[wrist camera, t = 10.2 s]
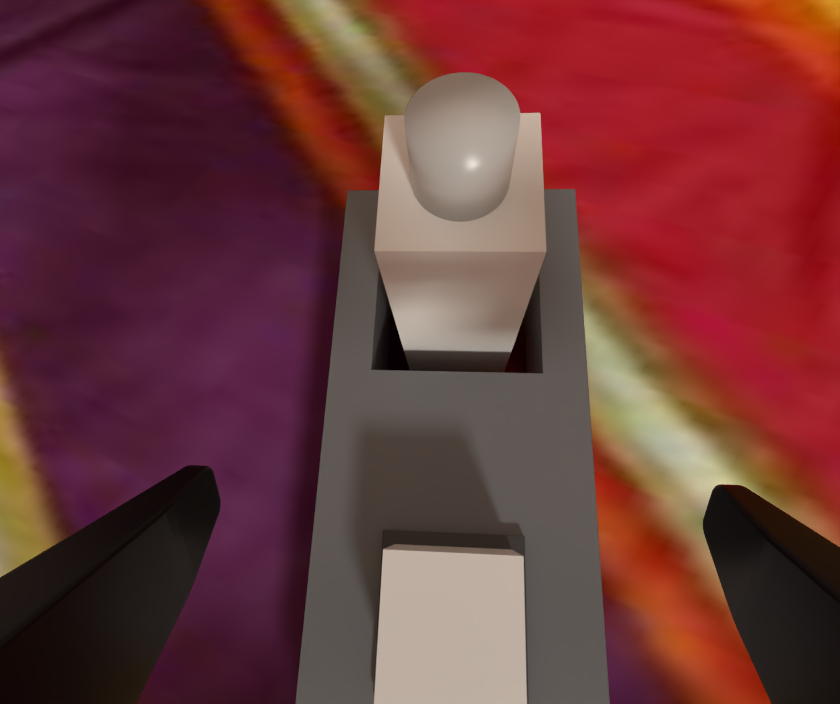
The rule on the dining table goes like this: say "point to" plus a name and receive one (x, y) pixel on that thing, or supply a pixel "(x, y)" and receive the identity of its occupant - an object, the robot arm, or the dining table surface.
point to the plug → (460, 222)
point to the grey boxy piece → (456, 506)
